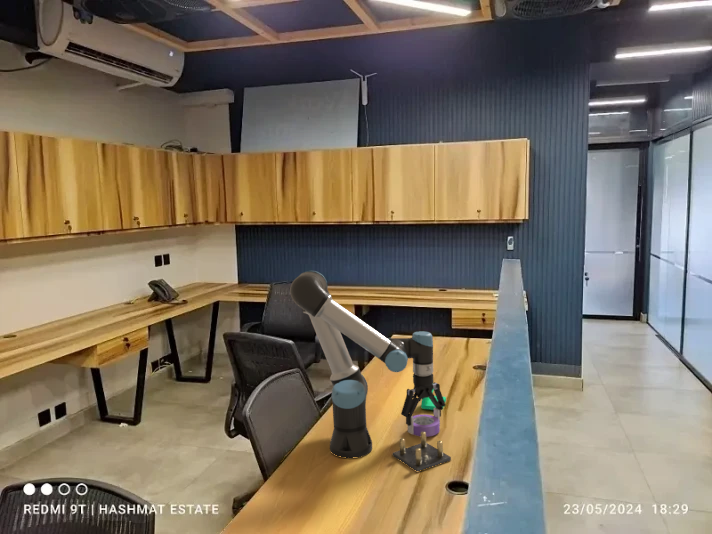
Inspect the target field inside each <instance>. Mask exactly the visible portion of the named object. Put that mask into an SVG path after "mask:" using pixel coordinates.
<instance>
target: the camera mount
mask: <svg viewBox="0 0 712 534" xmlns="http://www.w3.org/2000/svg"><path fill="white" fill-rule="evenodd" d="M432 393H433V394H434V389H433V390H432ZM434 397H435V398H436V399H437V397H436V395H434ZM442 397H443V399H444V402H445V403H447V396H443V395H442ZM437 401H438V400H437ZM420 406H421V407H420V408H421V409H423V410H431V411H434V408H436V407H435V405H434V404H433V403H432V401H431V400H430V398H429V397H427V398H424V399H421V404H420ZM444 407H445V406H443V408H444Z"/></svg>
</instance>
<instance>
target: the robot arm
mask: <svg viewBox="0 0 712 534" xmlns="http://www.w3.org/2000/svg"><path fill="white" fill-rule="evenodd" d="M289 293H290V297H291V299H292V301H293V302H294V303H295V305H297V306H298V307H299V308H300V309H301V310H302V313H303V314H306V315H308V317H309V319H310V321H311V324H312V327H313V329H314V332H315V334H316V336H317V339H318V343H319V344H320V346H321V347H320V348H321V349H322V351H323V354H324V356H325V359H326V361H327V364H328V367H329V368H330V371H331V375H330V377H329V379H330V382H331V385H332V389H331V402H332V417H333V418H332V420H333V421H332V423H333V431H332V435H331V438H330V441H329V451H331V452H332V453H333V454H335V455H337V456H341V457H346V458H345V459H354V458H353V457H358V458H362V457H364V456H366V455H368V454H371V452H372V450H373V440H372V437H371V435H370V433H369V429H368V427H367V409H366V408H367V407H366V406H367V404H366V403H367V395H368V392H369V390H368V389H369V388H368V387H369V385H368V382H367V380H366V378H365V376H364V375H363V374H362V373H361V370H360V367H359V366H358V365H356V364H354V363H353V360H352V358H351V355H350V352H349V351H348V348H347V345H346V343H345V340H344V338H343V335H344V336H346V337H347V338H348V339H350V340H351V341H353V342H354V343H355V344H357V345H359V346H360V347H362V348H363V349H364V350H366V351H367V352H368V353H370V354H371V355H373V356H374V357H376V358H377V359H379V360H380V361H381V362H382V363H384V365H385V366H386V367H387V370H389V371H390V372H393V373H400V372H402V371H404V370H405V369H406V368H407V365H408V361H409V360H408V359H412V373H413V374H412V382H413V383H412V384H413V388H412V389H409V388H407V389H406V396H405V400H404V403H403V405H402V409H401V413H400V414H401V416H403V417H405V421H406V422H405V424H406V425H407V433H409V434H410V435H413V434H414V422H413V417H412V416H413V414H414V413H415V410H416V408H417V407H418V405H419V402H422V399H424V398H427V397H429V398H430V400H431V401H432V403H433V404H434V405H435V407H436V408H434V410H433V416H435V417H437V418H438V419H439V426H440V427H441V417H442V411H443V409H444V407H445V406H446V402H444V399H443V397H444V396H443V394H442V391H441V389H440V388H441V386H440V385H441V384H439V383H437V382H434V374H433V373H434V340H433V335H432V333H431V332H429V331H414V332H413V333H412V336H411V337H397V338H395V337H388V338H387V337H386V336H385V335H383V334H382V333H380V332H379V331H378V330H376V329H375V328H374V327H372V326H370V325H369V324H368V323H366V322H365V321H364V320H362V319H361V318H359V317H358V316H356V315H355V314H354V313H352V312H351V311H349V310H348V309H347V308H345V306H342V305H341V304H339V303H338V302H337V301H335V300H334V299H333V297H332V295H331V293H330V292H329V290H328V281H327V279H326V277H325V276H324V275H323V274H322V273H320V272H319V271H316V270H308V271H304V272H302V273H300V274H298V276H297V277H295V279H294V280H293V281H292V282H291V285H290V287H289ZM342 334H343V335H342ZM433 389H434V391H433V393H432V390H433ZM434 394H435V395H434ZM434 396H436V397H437V399H436V398H435V397H434ZM442 396H443V397H442ZM437 400H438V401H437ZM443 406H444V407H443ZM331 452H330V453H331ZM332 453H331V454H332ZM333 454H332V455H333ZM337 456H336V457H337ZM361 456H362V457H361Z"/></svg>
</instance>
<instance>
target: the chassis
mask: <svg viewBox="0 0 712 534" xmlns="http://www.w3.org/2000/svg"><path fill="white" fill-rule="evenodd" d="M443 444H444V443H443V441H442V440H437V441H436V447H434V446H433V445H431V444H430V443H428V442H427V437H426V432H421V436H420V443H418V444H415V445H412V446H411V445H410V446H408V447H406V439H405V438H403V437H402V438H401V437H400V438H399V450H396V451H393V452H392V457H394V458H395V459H397V460H398V459H399V460H401V461H402V462H404V463H405V464H407V465H408V466H409V467H408V466H407V465H406V466H407V467H408V468H410V467H411V468H413V469H414V470H416V471H420V470H423V469H426V468H429V467H431V468H433V467H432V466H434V467H436V466H435V465H437V466H439V465H438V464H440V463H442V464H445V463H448V462H450V460H451V461H452V456H450V455H449V454H447V453H445V452H444V449H443V448H444V447H443V446H444V445H443ZM399 460H398V461H399ZM401 461H400V462H401ZM447 461H448V462H447ZM402 462H401V463H402ZM444 462H445V463H444ZM404 463H403V464H404ZM405 464H404V465H405ZM440 465H441V464H440ZM411 468H410V469H411ZM413 469H412V470H413ZM429 469H430V468H429ZM414 470H413V471H414ZM426 470H427V469H426ZM416 471H415V472H416ZM423 471H424V470H423ZM420 472H421V471H420Z"/></svg>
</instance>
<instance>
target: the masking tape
mask: <svg viewBox="0 0 712 534" xmlns="http://www.w3.org/2000/svg"><path fill="white" fill-rule="evenodd" d="M412 417H413V422H414V434H412V435H413V436H418V437H421V432H426V438H427V437H432V436H436V435H438V434H439V433H440V427H441V425H440V426H439V419H438V418H437V417H435V416H434V415H431V414H416V415H412Z"/></svg>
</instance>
